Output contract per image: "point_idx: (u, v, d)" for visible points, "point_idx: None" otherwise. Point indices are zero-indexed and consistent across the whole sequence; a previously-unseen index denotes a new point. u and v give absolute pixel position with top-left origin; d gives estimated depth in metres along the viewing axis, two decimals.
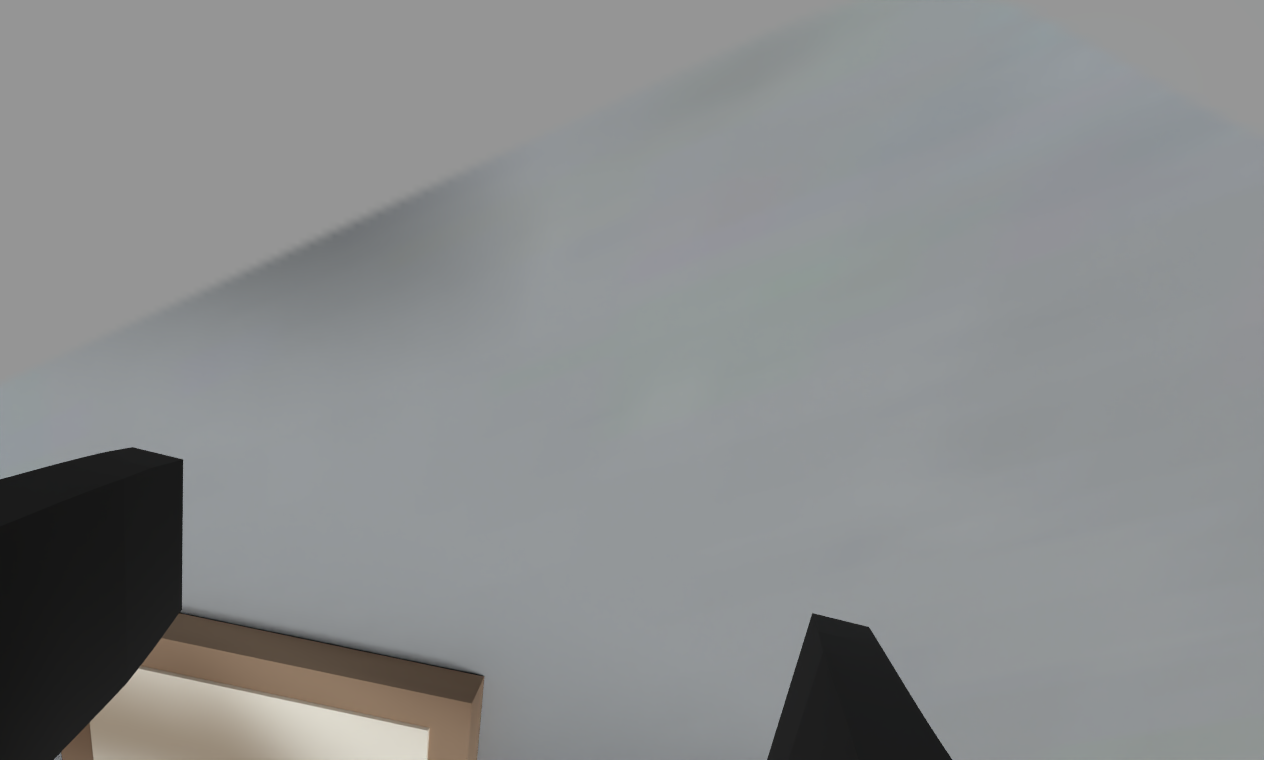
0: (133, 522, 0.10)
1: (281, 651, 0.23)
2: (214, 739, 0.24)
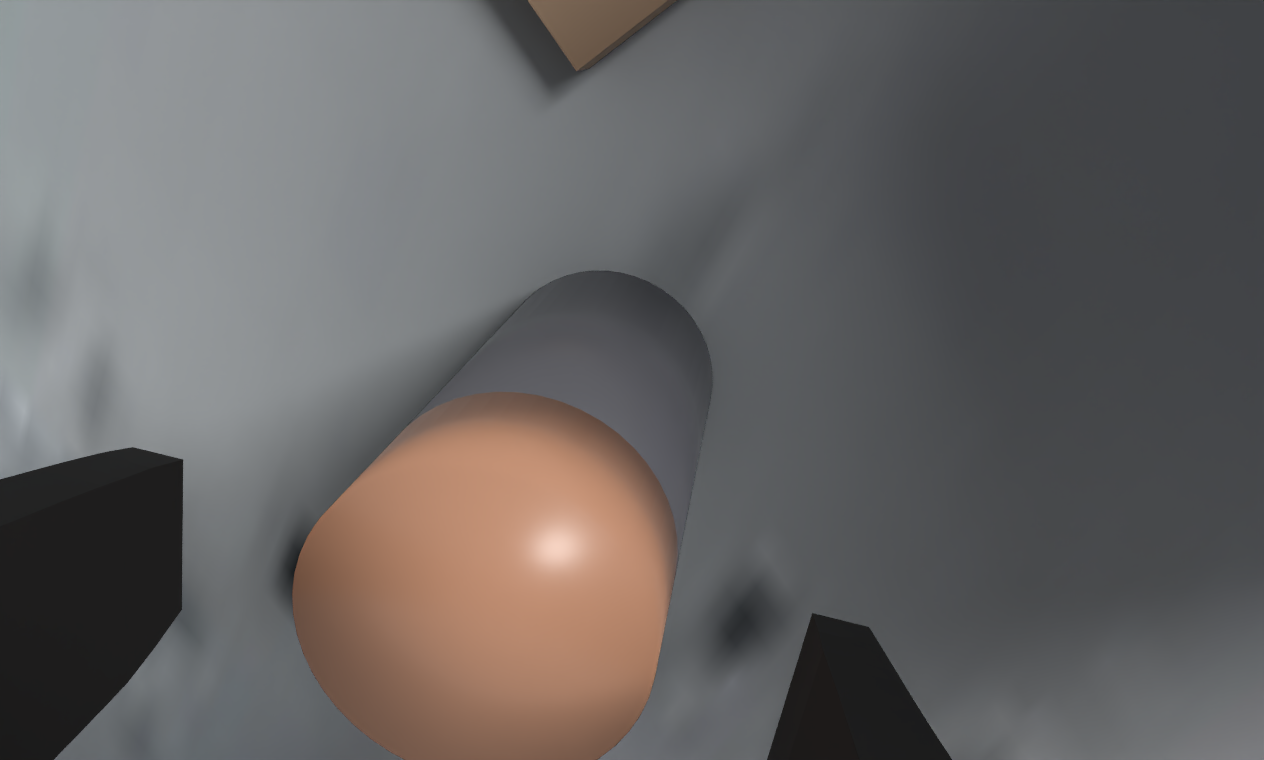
0: (133, 522, 0.10)
1: None
2: None
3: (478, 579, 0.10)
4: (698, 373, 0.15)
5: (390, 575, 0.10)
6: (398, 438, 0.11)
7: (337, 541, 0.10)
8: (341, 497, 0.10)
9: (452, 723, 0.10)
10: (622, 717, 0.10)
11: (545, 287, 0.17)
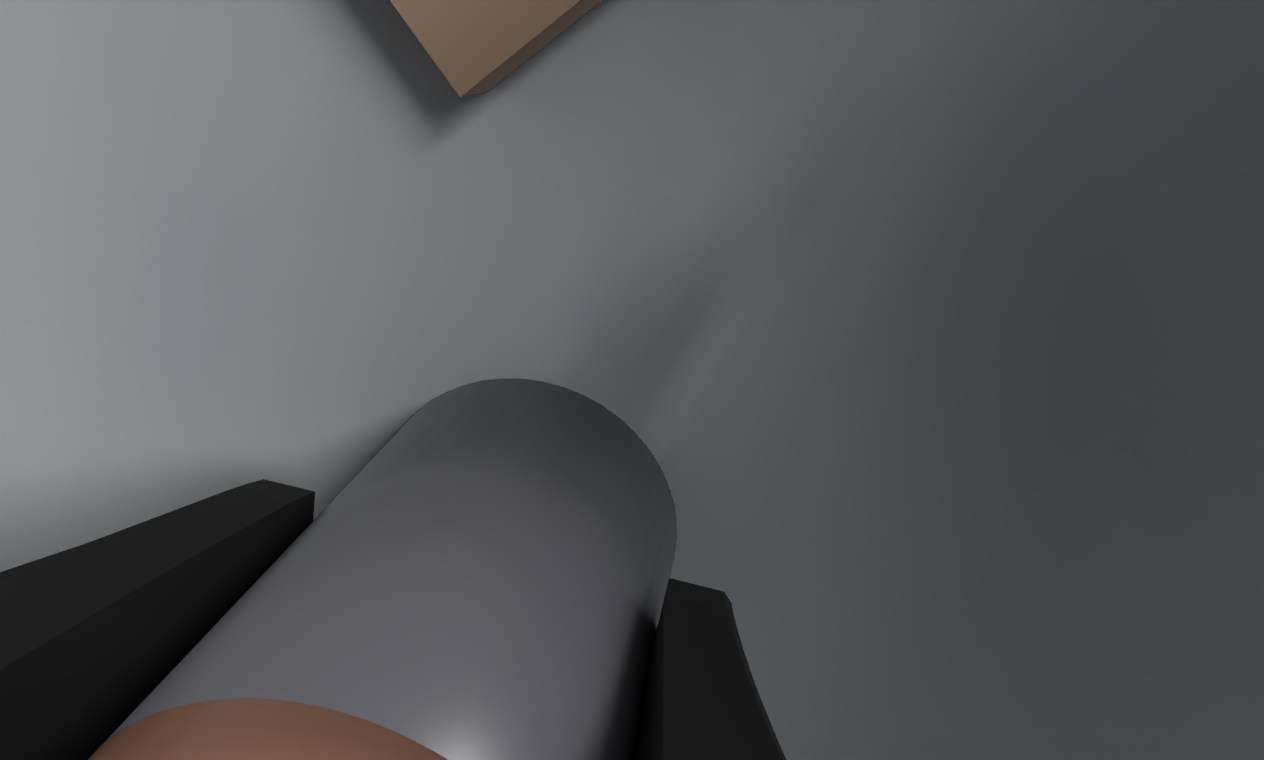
0: (274, 557, 0.10)
1: None
2: None
3: None
4: (650, 544, 0.10)
5: None
6: None
7: None
8: None
9: None
10: None
11: (434, 404, 0.12)
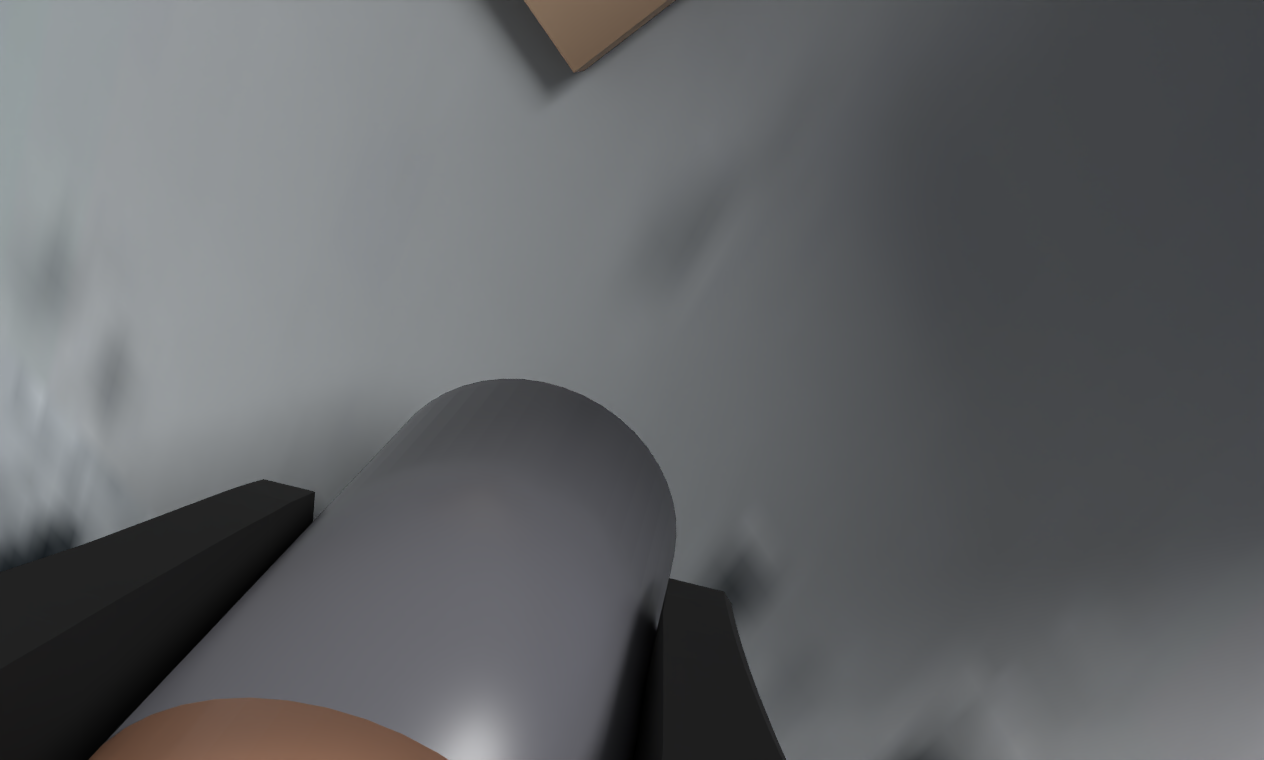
0: (274, 557, 0.10)
1: None
2: None
3: None
4: (650, 544, 0.10)
5: None
6: None
7: None
8: None
9: None
10: None
11: (434, 404, 0.12)
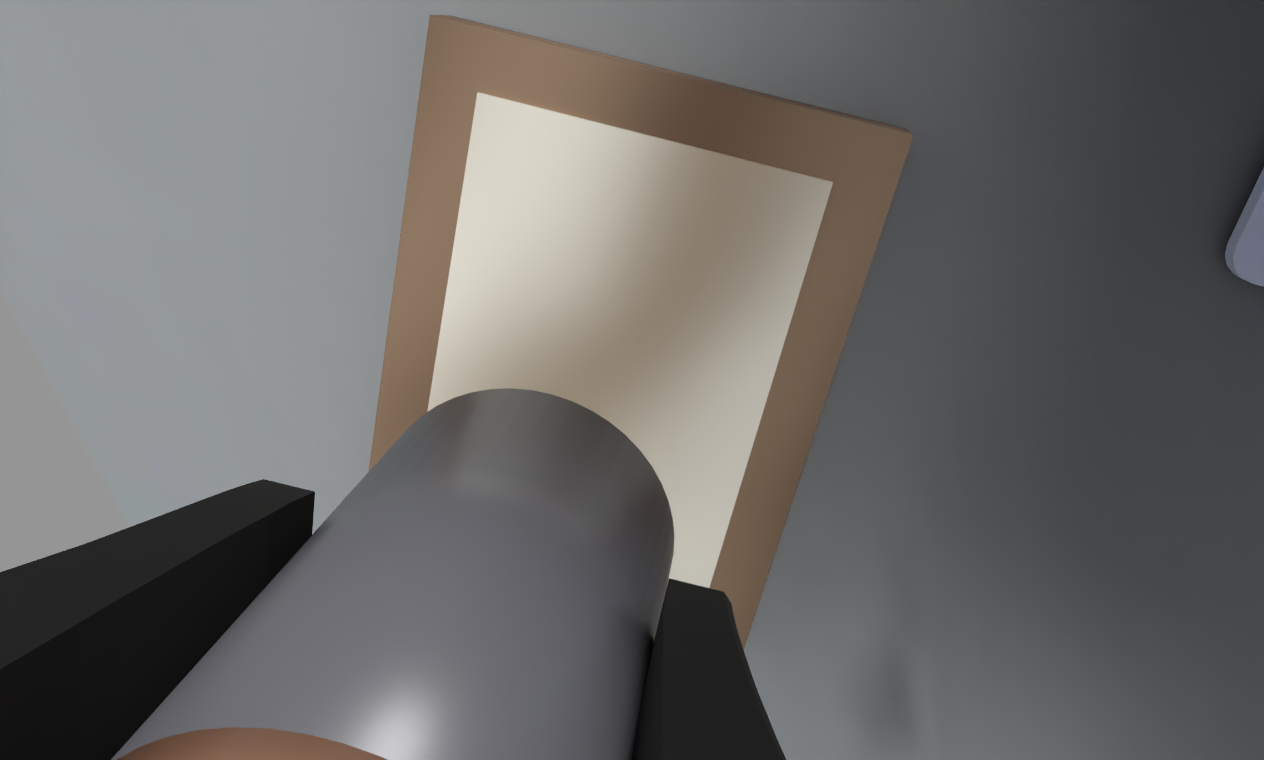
0: (274, 557, 0.10)
1: None
2: None
3: None
4: (643, 548, 0.10)
5: None
6: None
7: None
8: None
9: None
10: None
11: (425, 417, 0.12)
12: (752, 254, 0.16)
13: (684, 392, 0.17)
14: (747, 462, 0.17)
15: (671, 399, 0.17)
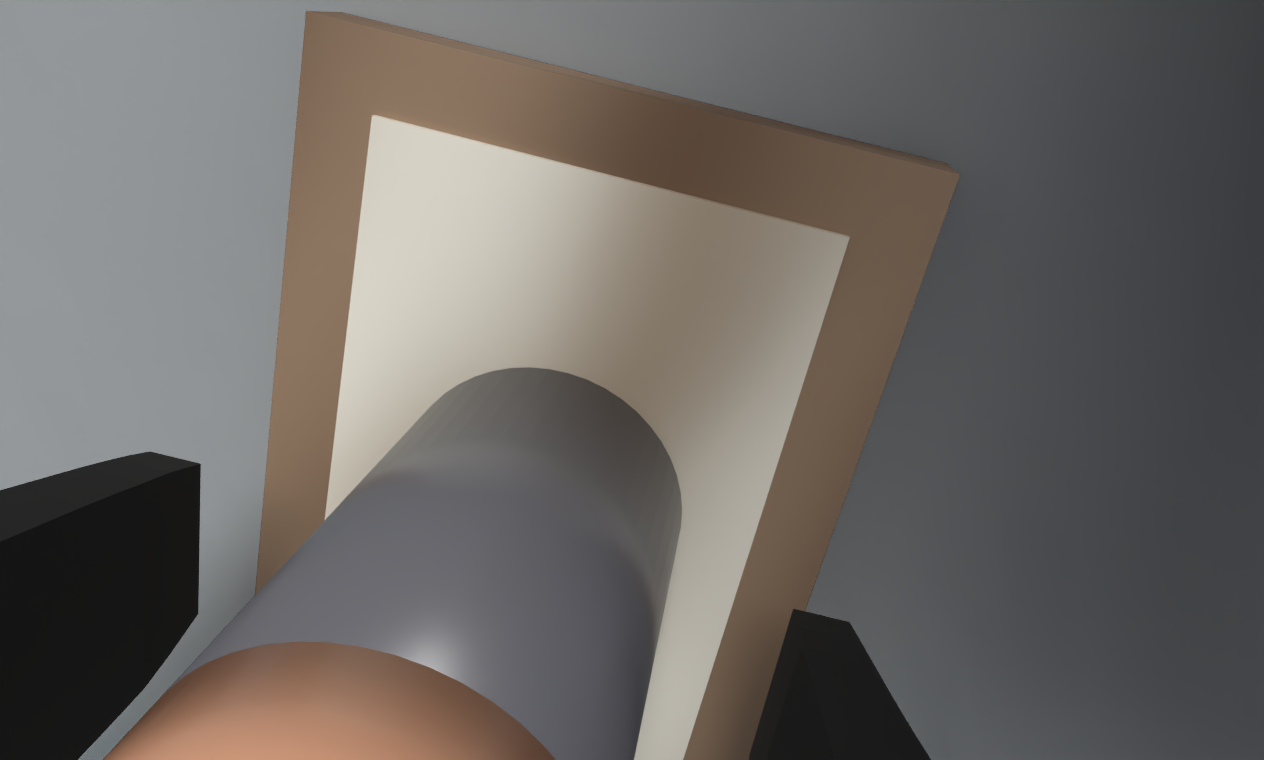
0: (152, 526, 0.10)
1: None
2: None
3: None
4: (655, 512, 0.11)
5: None
6: (128, 736, 0.07)
7: None
8: None
9: None
10: None
11: (448, 394, 0.12)
12: (741, 330, 0.12)
13: None
14: (736, 592, 0.13)
15: None
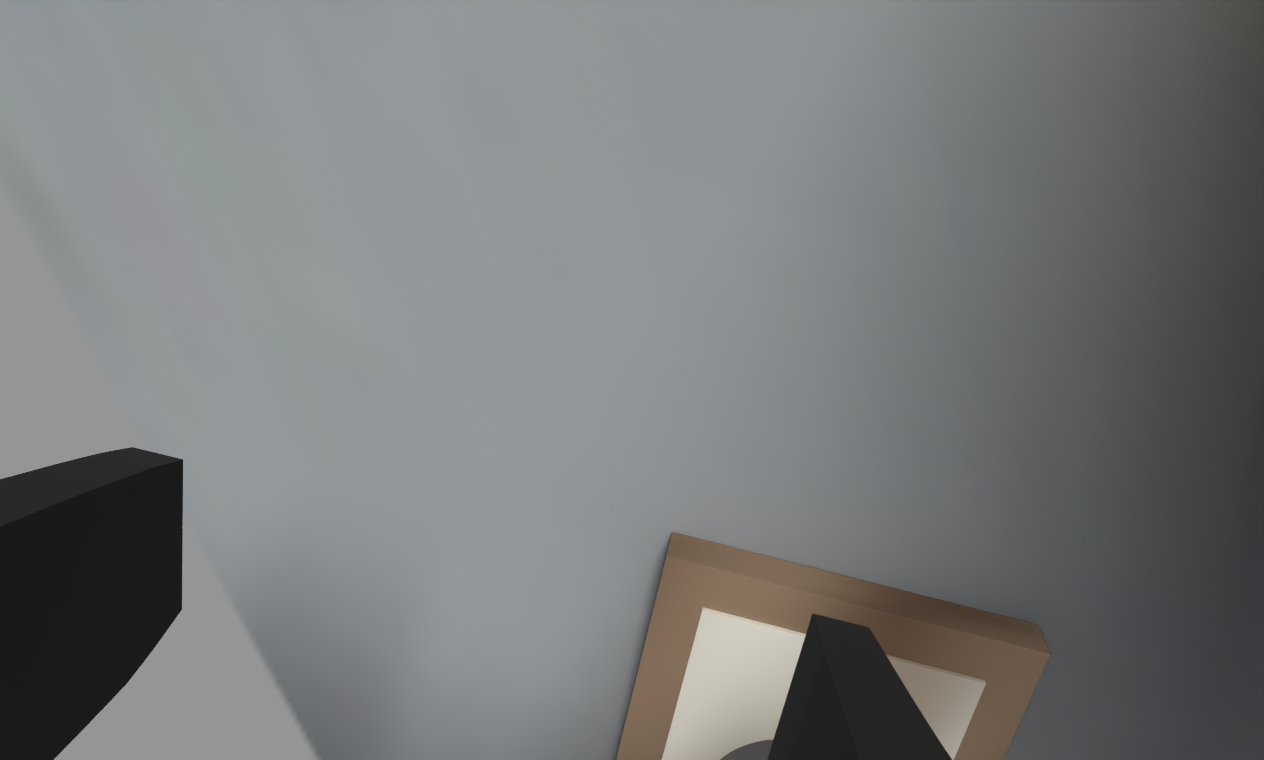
0: (133, 522, 0.10)
1: None
2: None
3: None
4: None
5: None
6: None
7: None
8: None
9: None
10: None
11: (740, 758, 0.21)
12: None
13: None
14: None
15: None
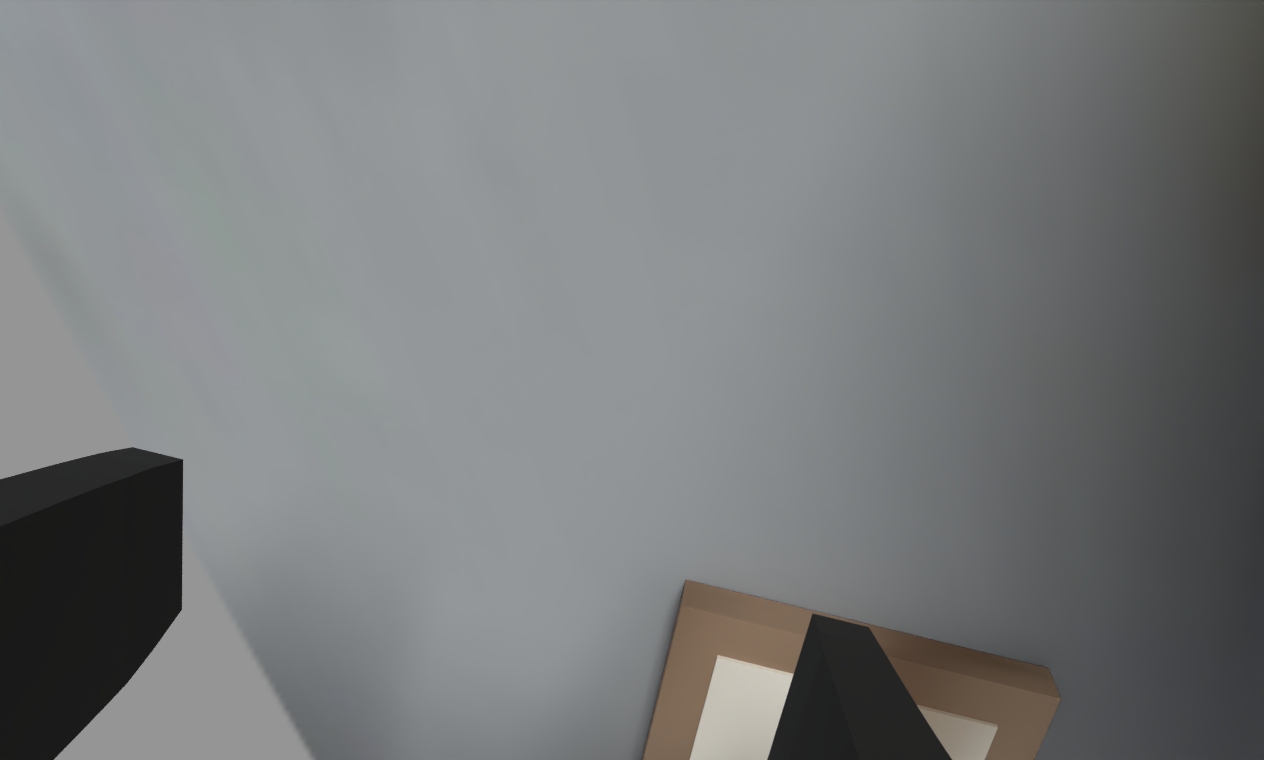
0: (133, 522, 0.10)
1: None
2: None
3: None
4: None
5: None
6: None
7: None
8: None
9: None
10: None
11: None
12: None
13: None
14: None
15: None
